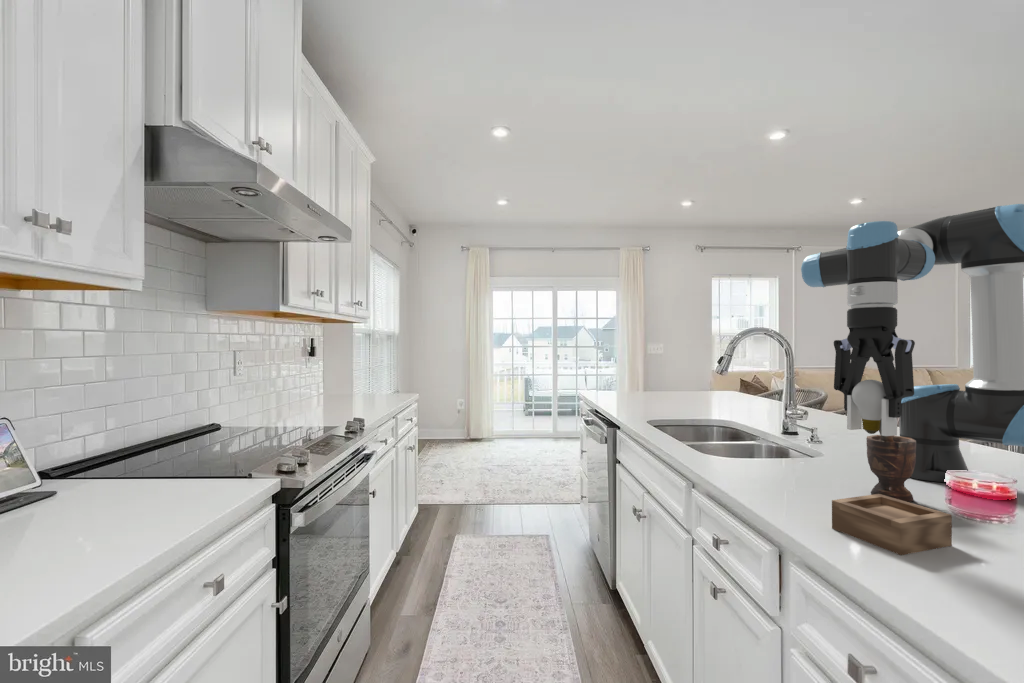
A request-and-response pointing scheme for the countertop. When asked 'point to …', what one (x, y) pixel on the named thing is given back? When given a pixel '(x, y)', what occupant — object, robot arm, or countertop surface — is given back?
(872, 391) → the light bulb
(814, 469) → the countertop surface
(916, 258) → the robot arm
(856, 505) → the tray
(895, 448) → the mortar and pestle
